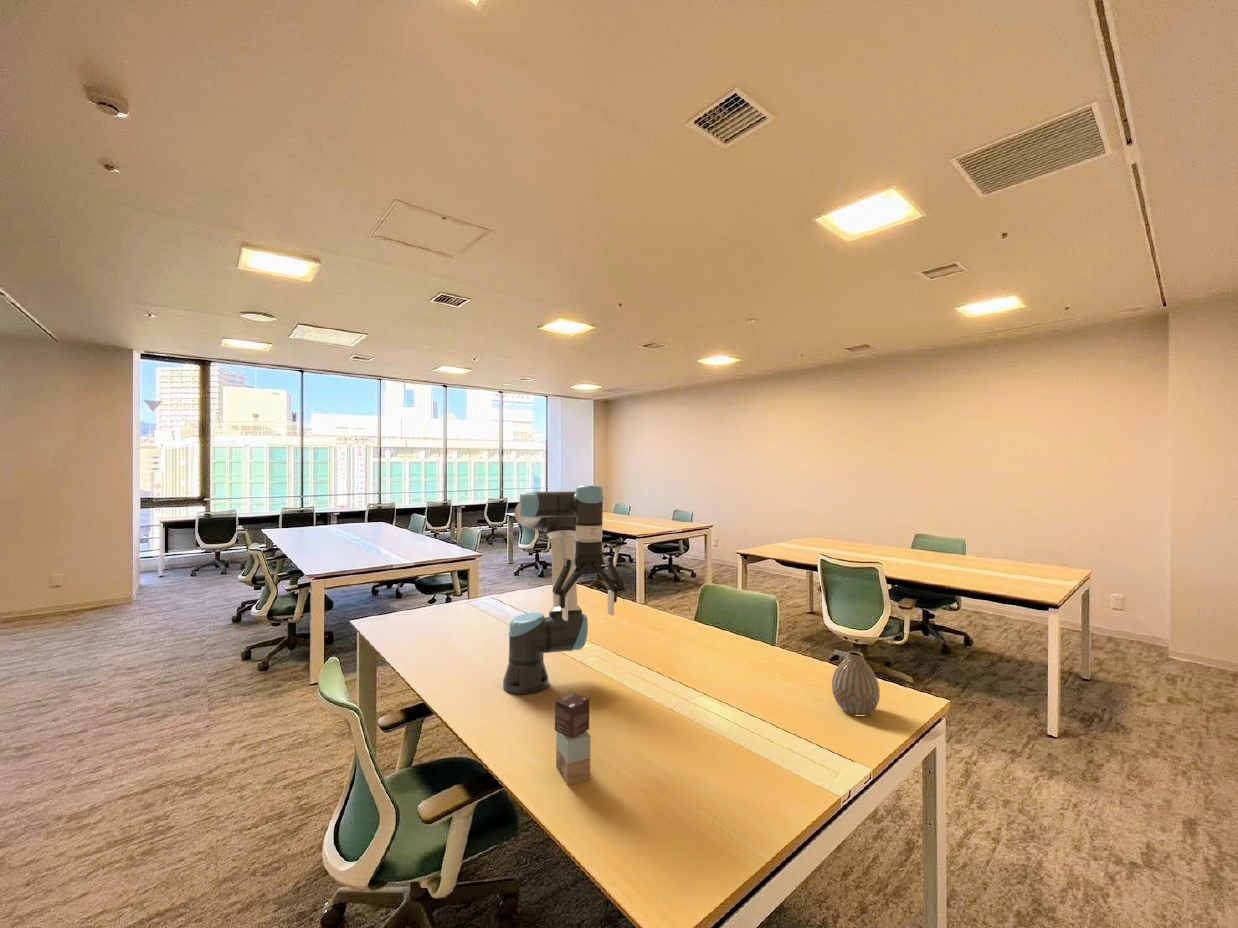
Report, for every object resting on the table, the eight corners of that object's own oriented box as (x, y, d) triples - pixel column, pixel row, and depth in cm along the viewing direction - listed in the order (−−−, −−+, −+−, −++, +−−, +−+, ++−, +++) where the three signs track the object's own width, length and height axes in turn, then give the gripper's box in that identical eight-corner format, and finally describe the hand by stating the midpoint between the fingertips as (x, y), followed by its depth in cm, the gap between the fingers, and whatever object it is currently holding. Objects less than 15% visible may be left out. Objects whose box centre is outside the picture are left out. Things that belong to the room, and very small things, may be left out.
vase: (881, 708, 152) (880, 651, 153) (878, 726, 141) (878, 664, 142) (835, 698, 159) (834, 643, 160) (829, 715, 148) (828, 655, 148)
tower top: (556, 746, 120) (556, 725, 121) (577, 741, 123) (577, 720, 123) (567, 763, 113) (568, 741, 113) (590, 757, 116) (590, 735, 116)
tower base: (556, 767, 120) (556, 746, 120) (577, 761, 123) (577, 741, 123) (567, 785, 113) (567, 763, 113) (590, 779, 116) (590, 757, 116)
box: (572, 721, 123) (572, 691, 123) (590, 729, 119) (590, 698, 119) (554, 731, 118) (554, 700, 118) (572, 739, 114) (572, 707, 114)
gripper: (549, 544, 130) (548, 625, 129) (634, 539, 140) (634, 615, 139) (542, 540, 137) (541, 618, 136) (623, 537, 147) (623, 609, 146)
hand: (588, 616), depth 138 cm, fingers open, 13 cm apart
